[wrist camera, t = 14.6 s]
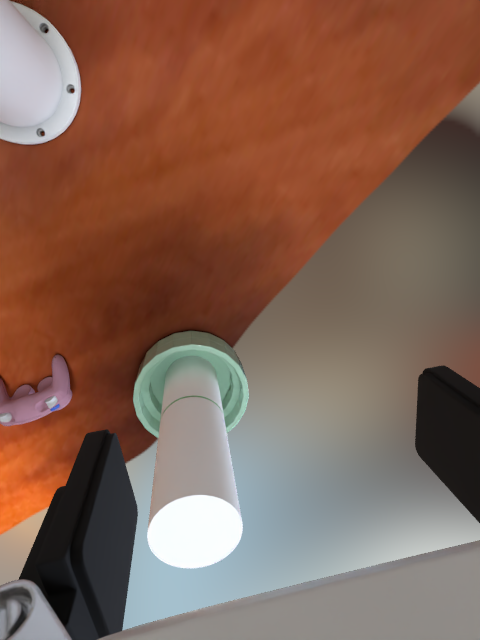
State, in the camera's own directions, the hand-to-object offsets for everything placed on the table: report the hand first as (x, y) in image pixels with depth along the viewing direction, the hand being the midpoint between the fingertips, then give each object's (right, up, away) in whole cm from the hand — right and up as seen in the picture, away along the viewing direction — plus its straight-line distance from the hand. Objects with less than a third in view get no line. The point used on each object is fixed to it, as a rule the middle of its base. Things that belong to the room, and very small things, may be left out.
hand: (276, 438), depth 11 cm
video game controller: (-28, -5, +38) cm, 48 cm away
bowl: (-8, -5, +41) cm, 42 cm away
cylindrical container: (-8, -5, +40) cm, 41 cm away
